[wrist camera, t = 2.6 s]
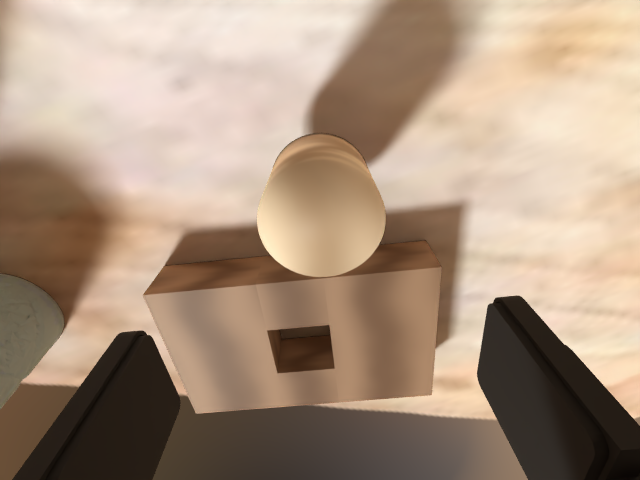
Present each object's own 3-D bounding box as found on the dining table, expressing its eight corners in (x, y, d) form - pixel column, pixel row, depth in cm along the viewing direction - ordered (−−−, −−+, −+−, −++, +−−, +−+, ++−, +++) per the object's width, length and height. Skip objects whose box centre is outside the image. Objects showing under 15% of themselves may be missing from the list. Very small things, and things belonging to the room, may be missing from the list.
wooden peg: (360, 117, 23) (385, 152, 15) (364, 202, 26) (386, 271, 18) (269, 128, 23) (244, 167, 15) (284, 210, 26) (269, 282, 18)
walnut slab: (425, 240, 28) (441, 267, 24) (419, 360, 34) (431, 395, 31) (164, 265, 28) (142, 295, 25) (208, 377, 35) (196, 413, 32)
